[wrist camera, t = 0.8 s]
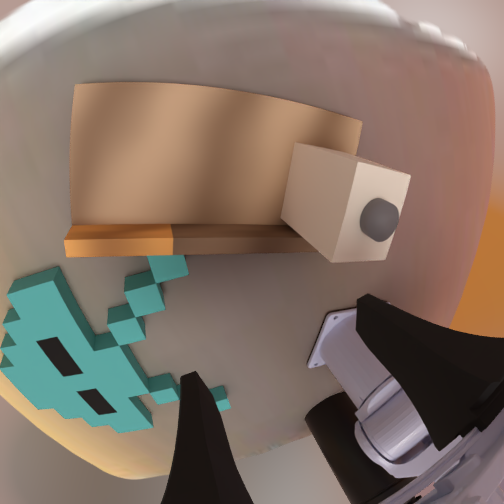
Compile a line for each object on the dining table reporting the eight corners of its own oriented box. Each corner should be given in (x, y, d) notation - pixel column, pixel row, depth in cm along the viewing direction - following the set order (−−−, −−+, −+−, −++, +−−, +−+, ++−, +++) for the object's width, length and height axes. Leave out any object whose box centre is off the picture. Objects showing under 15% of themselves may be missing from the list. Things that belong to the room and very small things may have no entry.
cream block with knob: (345, 152, 18) (421, 180, 12) (329, 220, 20) (394, 266, 14) (294, 142, 16) (369, 165, 11) (280, 217, 18) (340, 271, 13)
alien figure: (177, 229, 19) (-33, 294, 14) (181, 244, 17) (-43, 310, 12) (225, 392, 29) (71, 422, 24) (231, 408, 27) (71, 437, 22)
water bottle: (340, 414, 44) (403, 506, 25) (292, 431, 40) (354, 537, 21) (363, 381, 39) (442, 484, 20) (311, 399, 36) (392, 524, 17)
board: (349, 119, 18) (382, 125, 15) (324, 231, 22) (350, 251, 19) (81, 86, 12) (64, 80, 9) (78, 231, 16) (66, 257, 13)
